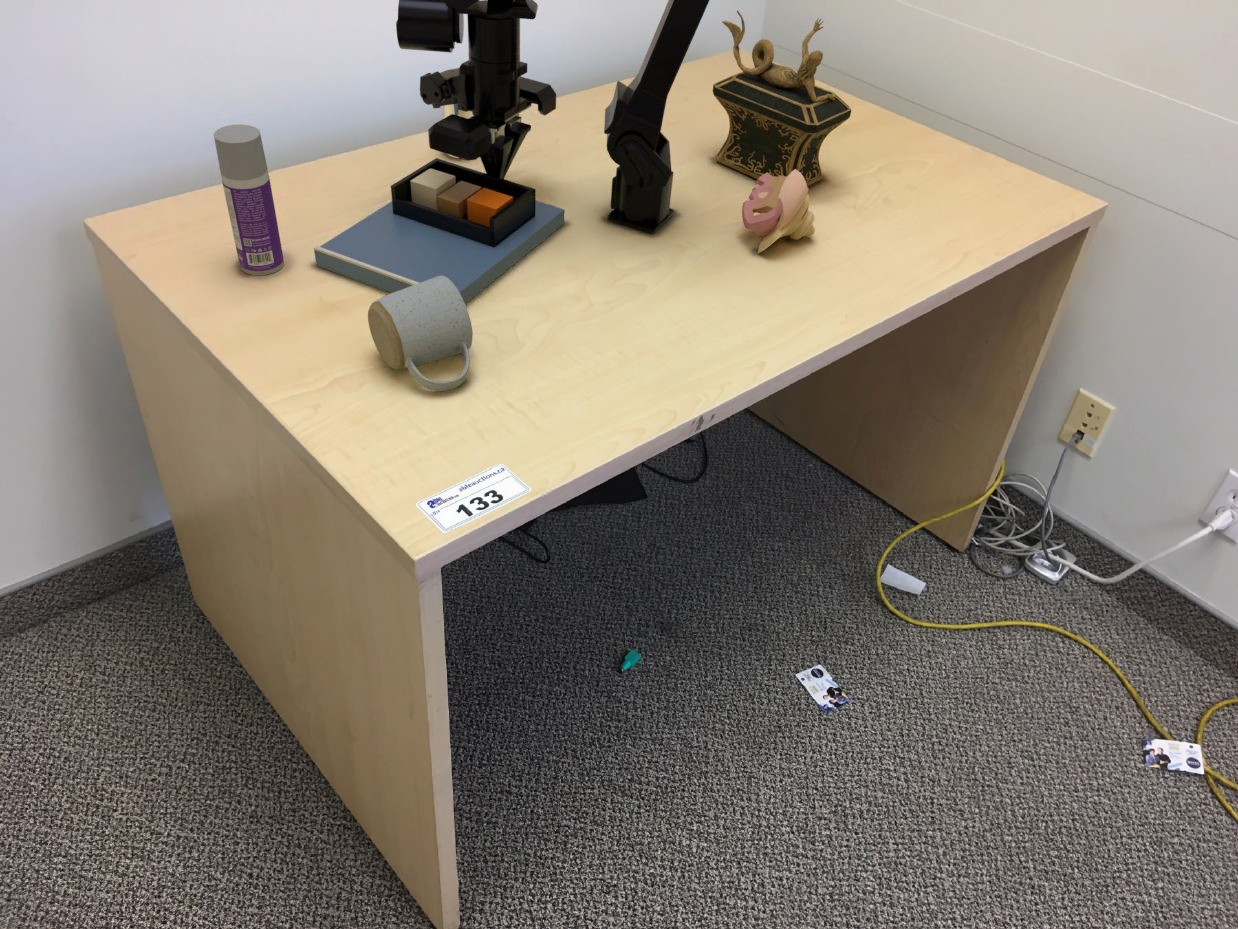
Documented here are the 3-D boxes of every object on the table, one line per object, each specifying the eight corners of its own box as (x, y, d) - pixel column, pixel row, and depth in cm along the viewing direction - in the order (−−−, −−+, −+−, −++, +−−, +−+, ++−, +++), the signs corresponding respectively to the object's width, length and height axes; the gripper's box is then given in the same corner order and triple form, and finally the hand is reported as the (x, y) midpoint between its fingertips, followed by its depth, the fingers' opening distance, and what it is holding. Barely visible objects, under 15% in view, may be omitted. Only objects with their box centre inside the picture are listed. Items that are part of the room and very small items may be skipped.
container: (292, 259, 112) (270, 129, 102) (268, 279, 108) (243, 146, 98) (256, 249, 113) (231, 120, 103) (231, 269, 109) (202, 137, 99)
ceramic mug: (366, 348, 100) (359, 282, 95) (439, 325, 104) (436, 261, 99) (416, 406, 94) (411, 340, 89) (491, 380, 98) (491, 314, 93)
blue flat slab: (564, 224, 122) (564, 206, 120) (451, 315, 106) (450, 296, 104) (441, 184, 127) (440, 167, 126) (316, 265, 111) (313, 247, 109)
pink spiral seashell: (802, 222, 128) (848, 197, 119) (770, 284, 125) (815, 263, 116) (748, 178, 125) (791, 149, 116) (714, 241, 122) (755, 216, 113)
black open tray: (535, 216, 119) (535, 188, 116) (494, 247, 113) (494, 219, 110) (437, 184, 123) (436, 157, 121) (392, 213, 117) (390, 185, 115)
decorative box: (839, 180, 136) (873, 31, 123) (798, 201, 131) (830, 48, 118) (724, 131, 146) (745, -12, 133) (682, 149, 140) (699, 1, 127)
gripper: (480, 17, 120) (482, 141, 131) (383, 61, 108) (394, 195, 118) (560, 37, 117) (556, 163, 127) (470, 86, 104) (474, 222, 115)
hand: (495, 184), depth 122 cm, fingers closed
